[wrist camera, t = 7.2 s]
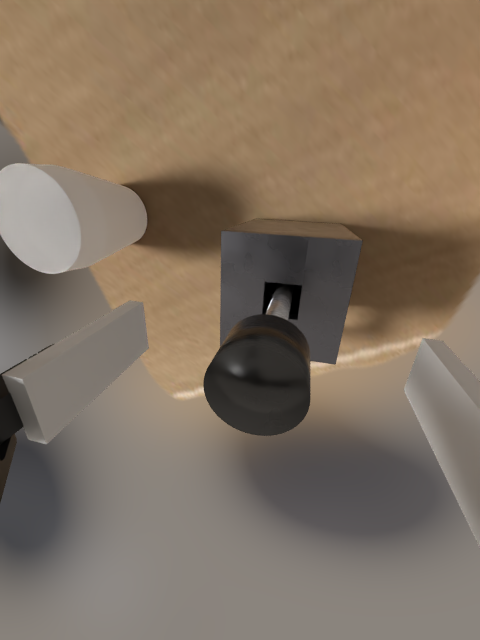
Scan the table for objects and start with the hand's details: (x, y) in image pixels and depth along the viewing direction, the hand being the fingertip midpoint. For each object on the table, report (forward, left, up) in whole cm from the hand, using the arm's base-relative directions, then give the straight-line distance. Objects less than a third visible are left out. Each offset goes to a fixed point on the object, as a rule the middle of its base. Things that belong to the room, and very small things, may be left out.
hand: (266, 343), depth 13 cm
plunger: (0, 0, -17) cm, 17 cm away
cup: (-4, -21, -20) cm, 29 cm away
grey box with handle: (+2, 0, -20) cm, 20 cm away
